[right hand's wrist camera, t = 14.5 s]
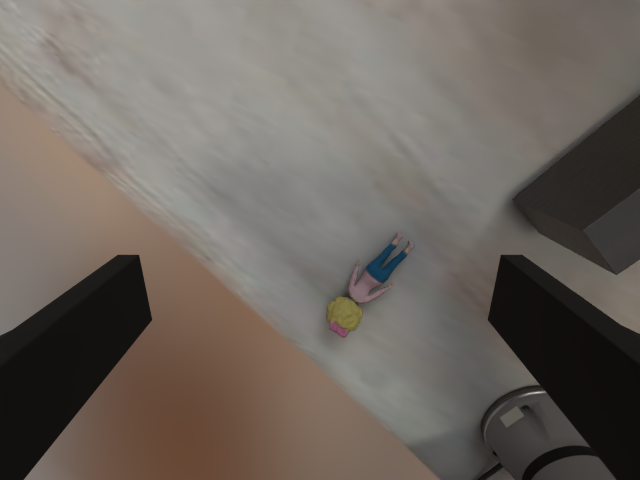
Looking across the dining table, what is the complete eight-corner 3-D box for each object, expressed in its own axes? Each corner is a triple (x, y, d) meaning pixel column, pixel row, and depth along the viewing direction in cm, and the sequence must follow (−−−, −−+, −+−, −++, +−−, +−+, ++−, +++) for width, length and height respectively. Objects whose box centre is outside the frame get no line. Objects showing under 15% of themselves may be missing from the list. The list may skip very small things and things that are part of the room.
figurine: (385, 221, 44) (315, 306, 47) (393, 231, 40) (316, 323, 43) (419, 247, 45) (348, 328, 48) (431, 259, 41) (352, 347, 44)
